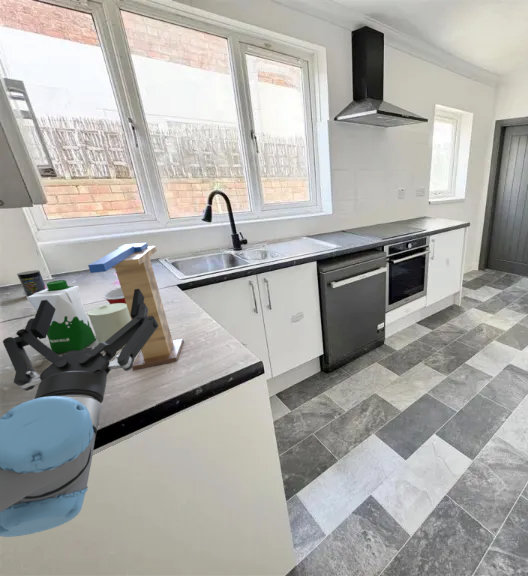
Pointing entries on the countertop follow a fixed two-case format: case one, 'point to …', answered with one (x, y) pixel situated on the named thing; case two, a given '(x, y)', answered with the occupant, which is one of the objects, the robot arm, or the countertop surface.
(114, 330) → the can
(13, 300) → the countertop surface
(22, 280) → the supplement container
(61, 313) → the milk carton
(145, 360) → the stand
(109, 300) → the plastic cup
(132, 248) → the blue long flat bar
